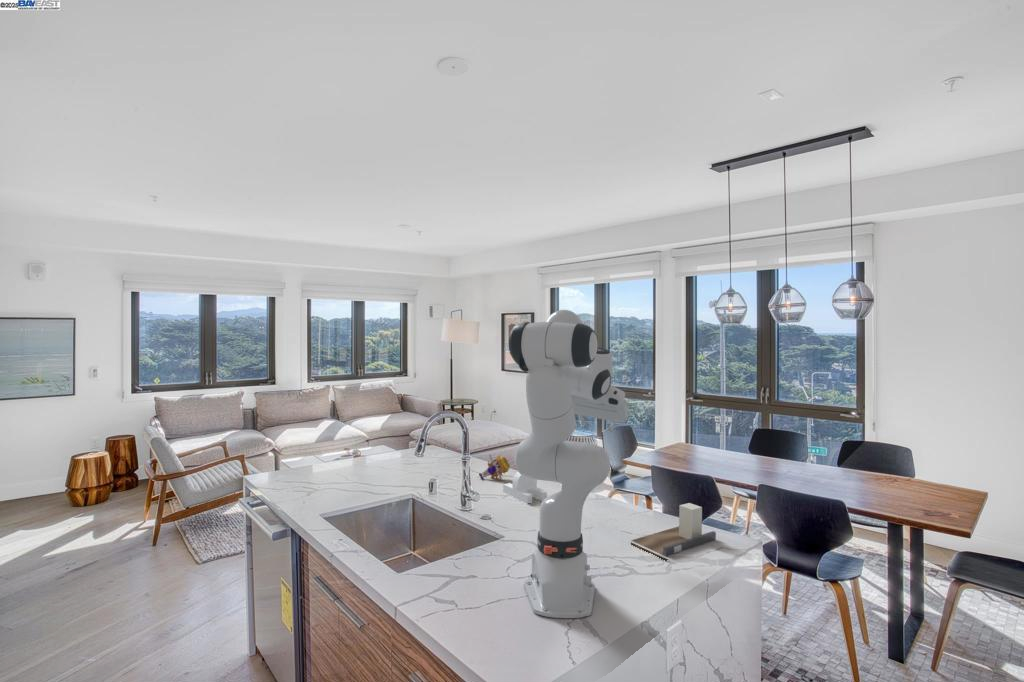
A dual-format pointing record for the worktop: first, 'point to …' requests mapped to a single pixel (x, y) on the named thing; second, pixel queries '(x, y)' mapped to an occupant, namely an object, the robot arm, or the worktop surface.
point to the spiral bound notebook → (659, 541)
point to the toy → (496, 467)
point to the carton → (690, 520)
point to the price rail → (689, 543)
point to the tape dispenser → (524, 489)
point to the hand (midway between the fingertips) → (596, 427)
